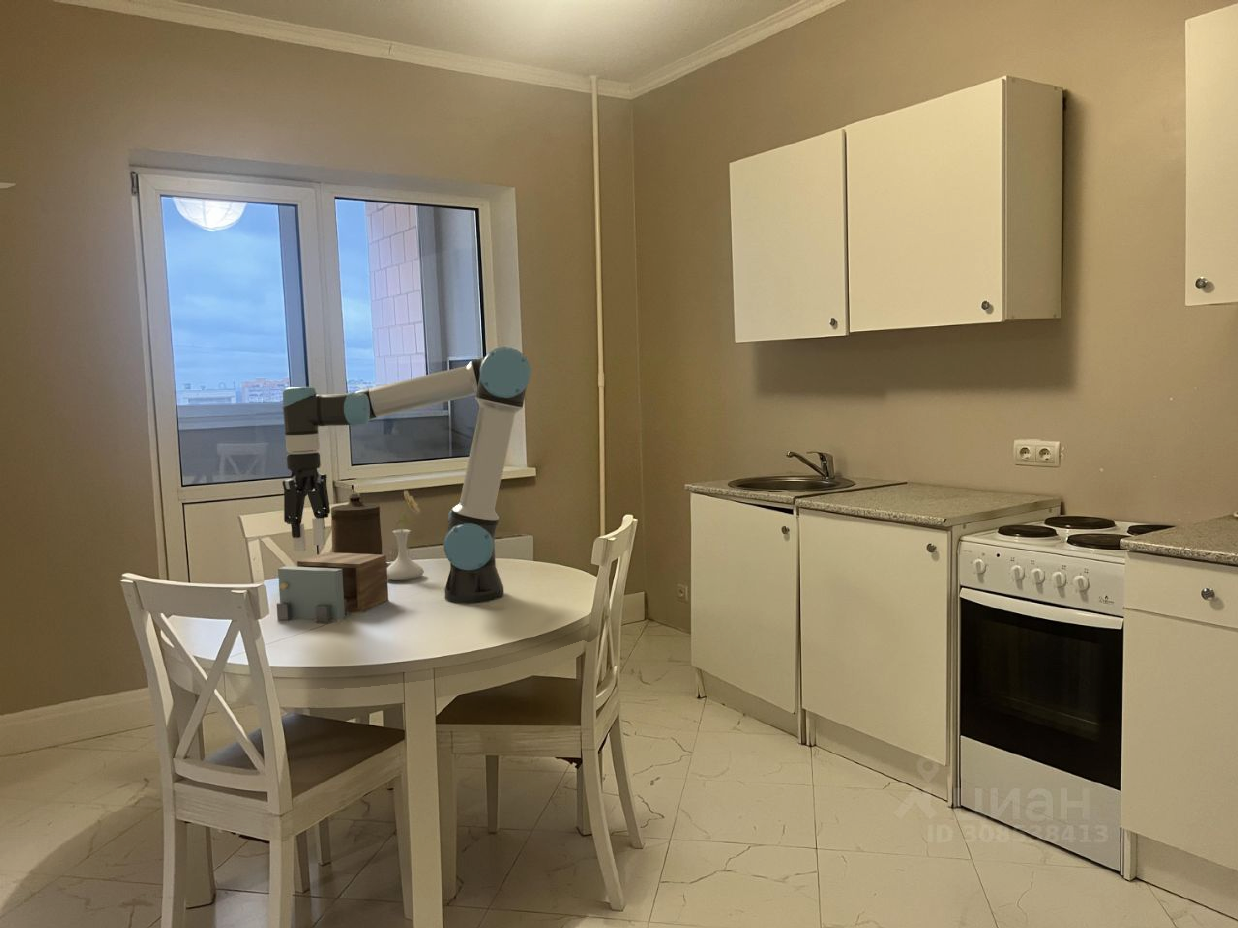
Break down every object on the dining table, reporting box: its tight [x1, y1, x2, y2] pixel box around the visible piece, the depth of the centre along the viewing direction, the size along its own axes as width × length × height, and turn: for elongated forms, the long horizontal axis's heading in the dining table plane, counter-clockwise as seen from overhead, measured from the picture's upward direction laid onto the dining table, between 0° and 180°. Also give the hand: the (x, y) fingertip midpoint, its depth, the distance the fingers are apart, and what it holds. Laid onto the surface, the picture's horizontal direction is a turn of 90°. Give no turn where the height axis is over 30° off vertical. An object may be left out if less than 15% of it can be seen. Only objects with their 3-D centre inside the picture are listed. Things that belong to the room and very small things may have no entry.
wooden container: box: [330, 493, 384, 555], centre depth 287 cm, size 15×15×22 cm
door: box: [277, 565, 346, 622], centre depth 224 cm, size 16×4×12 cm, turn 72°
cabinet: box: [296, 551, 389, 613], centre depth 237 cm, size 18×12×12 cm, turn 72°
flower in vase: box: [387, 490, 425, 581], centre depth 266 cm, size 13×11×25 cm
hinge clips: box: [276, 599, 348, 624], centre depth 225 cm, size 14×8×4 cm, turn 72°
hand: (310, 547), depth 224 cm, fingers open, 7 cm apart
